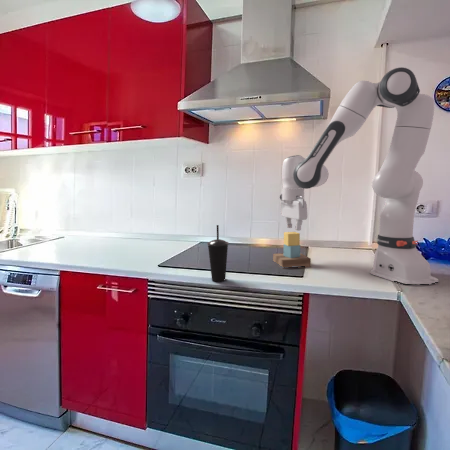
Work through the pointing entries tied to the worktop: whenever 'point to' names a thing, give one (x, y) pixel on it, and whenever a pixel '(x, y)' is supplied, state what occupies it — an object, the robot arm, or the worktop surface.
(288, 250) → the teal cube
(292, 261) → the walnut base
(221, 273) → the drinking cup
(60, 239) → the worktop surface
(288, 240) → the mustard cube
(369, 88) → the robot arm
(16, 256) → the worktop surface
